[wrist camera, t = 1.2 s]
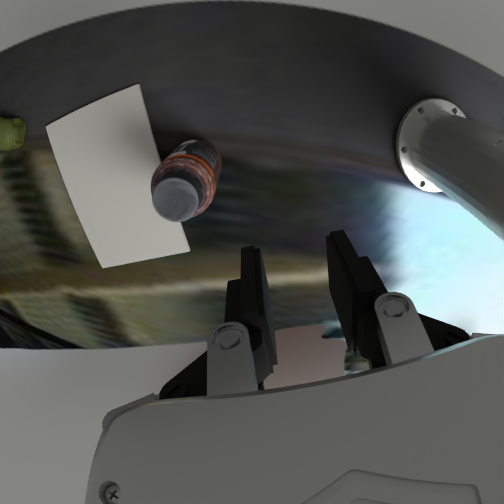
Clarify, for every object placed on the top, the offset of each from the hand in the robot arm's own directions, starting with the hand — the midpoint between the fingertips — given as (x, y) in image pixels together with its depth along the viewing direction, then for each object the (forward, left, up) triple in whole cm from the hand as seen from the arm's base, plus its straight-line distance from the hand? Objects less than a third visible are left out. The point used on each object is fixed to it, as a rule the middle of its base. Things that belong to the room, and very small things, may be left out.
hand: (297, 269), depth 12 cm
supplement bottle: (+8, 0, -23) cm, 25 cm away
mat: (+19, 0, -23) cm, 30 cm away
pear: (+34, -14, -24) cm, 43 cm away
